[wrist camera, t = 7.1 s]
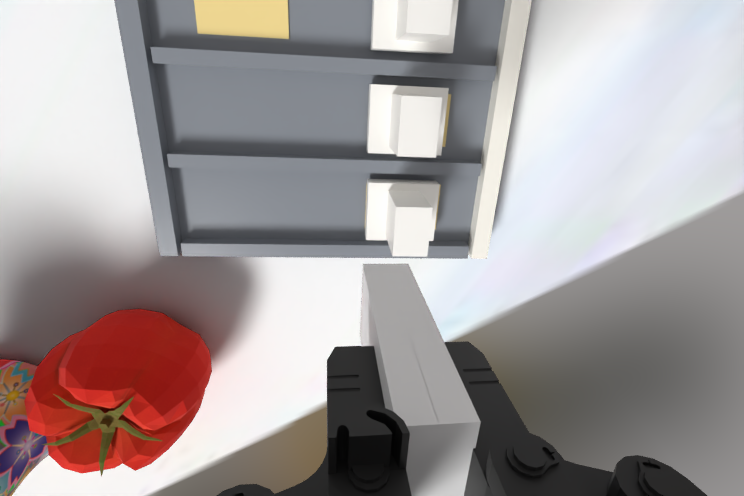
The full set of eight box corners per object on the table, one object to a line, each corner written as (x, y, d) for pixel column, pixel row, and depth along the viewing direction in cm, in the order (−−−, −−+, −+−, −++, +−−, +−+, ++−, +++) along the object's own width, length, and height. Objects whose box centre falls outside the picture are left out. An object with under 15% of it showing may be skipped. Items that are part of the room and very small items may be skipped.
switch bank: (169, 242, 24) (155, 255, 22) (117, -75, 18) (91, -93, 16) (479, 245, 26) (490, 258, 24) (526, -41, 20) (546, -54, 18)
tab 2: (366, 150, 22) (373, 164, 18) (369, 84, 20) (376, 84, 17) (436, 152, 22) (458, 167, 18) (443, 87, 21) (468, 88, 17)
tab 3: (364, 234, 24) (370, 263, 20) (367, 178, 22) (373, 198, 19) (429, 234, 24) (447, 263, 20) (435, 180, 23) (455, 200, 19)
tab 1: (370, 50, 20) (378, 41, 16) (373, -30, 19) (383, -60, 15) (447, 54, 20) (473, 47, 16) (455, -24, 19) (486, -52, 15)
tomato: (120, 408, 29) (53, 508, 22) (60, 308, 26) (-42, 391, 19) (243, 381, 29) (214, 474, 22) (200, 278, 26) (149, 350, 19)
